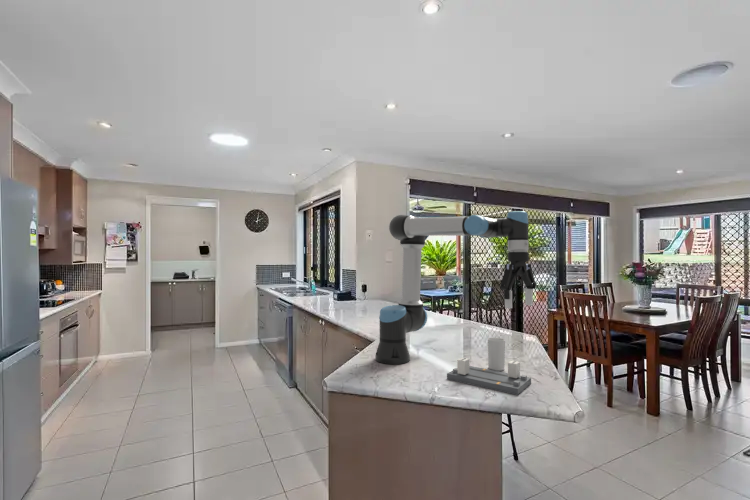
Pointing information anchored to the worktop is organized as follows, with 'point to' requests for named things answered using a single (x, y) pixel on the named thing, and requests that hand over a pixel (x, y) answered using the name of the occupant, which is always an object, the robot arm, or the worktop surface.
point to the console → (491, 379)
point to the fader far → (513, 369)
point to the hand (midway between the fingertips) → (519, 306)
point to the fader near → (463, 366)
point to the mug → (496, 354)
